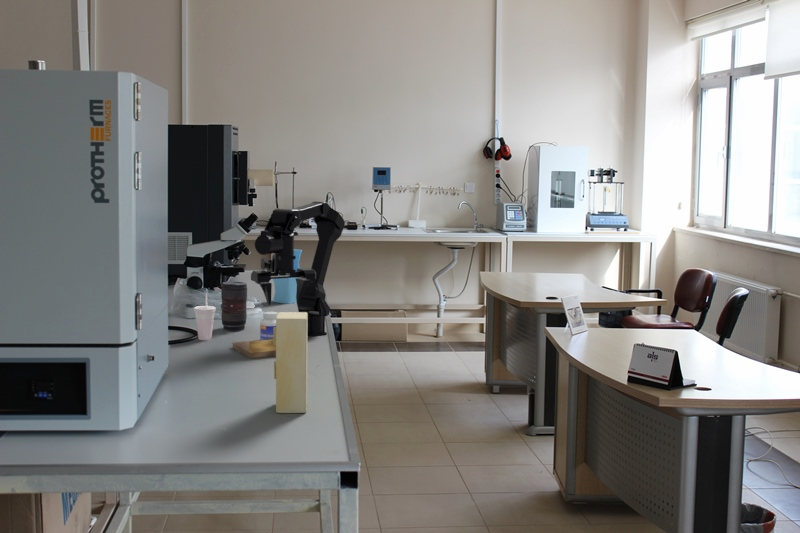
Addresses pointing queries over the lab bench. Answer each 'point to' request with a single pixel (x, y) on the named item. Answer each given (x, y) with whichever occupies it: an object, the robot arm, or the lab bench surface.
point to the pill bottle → (267, 325)
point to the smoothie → (204, 320)
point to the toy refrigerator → (291, 362)
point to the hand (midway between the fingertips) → (283, 303)
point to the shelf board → (256, 348)
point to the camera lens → (233, 305)
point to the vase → (287, 285)
